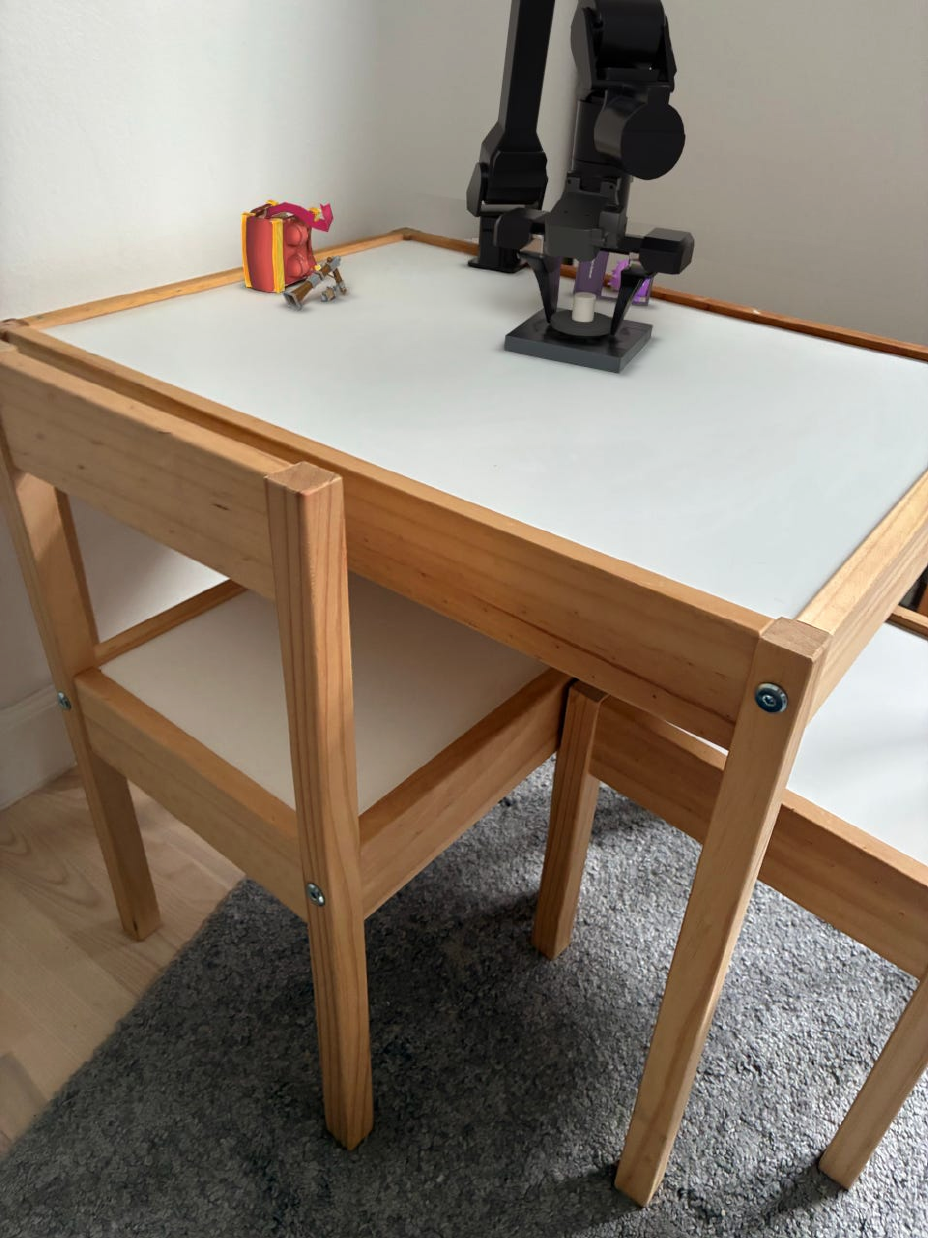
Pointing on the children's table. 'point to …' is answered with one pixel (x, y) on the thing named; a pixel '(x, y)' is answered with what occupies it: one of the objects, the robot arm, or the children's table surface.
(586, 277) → the game card
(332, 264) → the toy blunderbuss
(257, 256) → the book monster
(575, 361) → the sink plate
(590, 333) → the stopper
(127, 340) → the children's table surface
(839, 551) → the children's table surface
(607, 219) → the robot arm
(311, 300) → the children's table surface
